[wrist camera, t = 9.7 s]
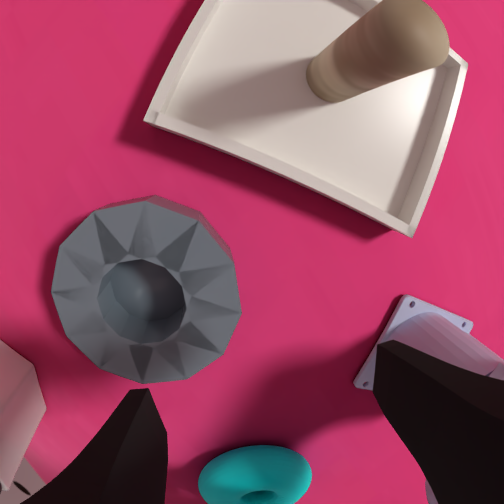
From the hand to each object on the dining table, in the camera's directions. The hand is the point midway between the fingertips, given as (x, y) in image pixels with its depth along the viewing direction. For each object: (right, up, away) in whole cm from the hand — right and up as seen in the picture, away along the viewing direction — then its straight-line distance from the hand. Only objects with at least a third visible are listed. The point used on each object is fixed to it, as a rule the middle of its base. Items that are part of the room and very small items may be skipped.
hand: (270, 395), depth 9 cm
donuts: (0, -15, +15) cm, 22 cm away
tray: (+4, +14, +7) cm, 17 cm away
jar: (-21, -6, +10) cm, 24 cm away
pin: (+4, +14, +7) cm, 16 cm away
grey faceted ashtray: (-7, +2, +9) cm, 12 cm away
